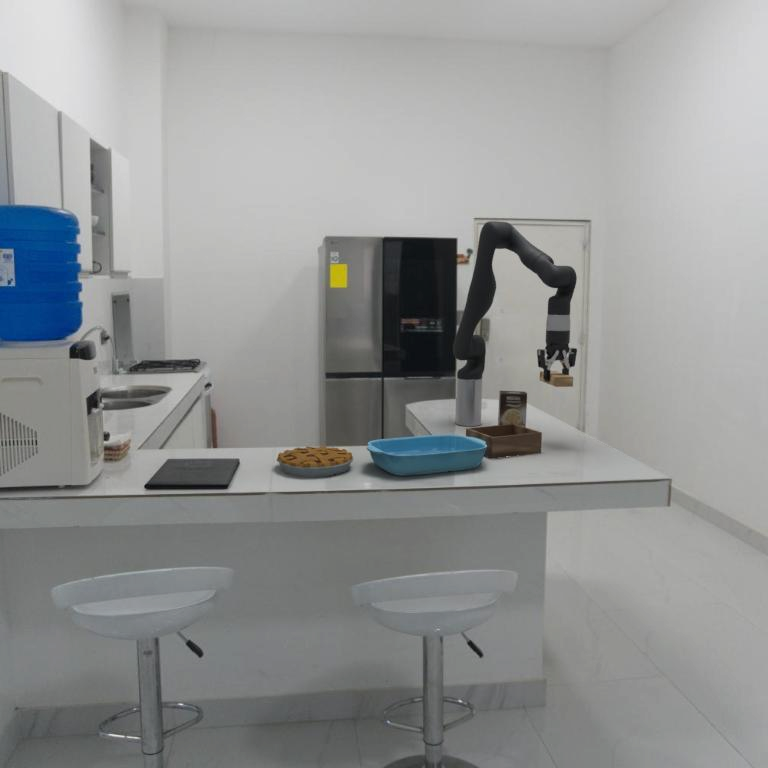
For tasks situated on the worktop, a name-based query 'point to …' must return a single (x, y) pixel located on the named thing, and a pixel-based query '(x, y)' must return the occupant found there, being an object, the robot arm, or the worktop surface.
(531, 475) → the worktop surface
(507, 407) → the coffee box
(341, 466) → the pie
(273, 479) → the worktop surface
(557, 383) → the tan flat block
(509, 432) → the wooden box
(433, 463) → the casserole dish
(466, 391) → the robot arm
